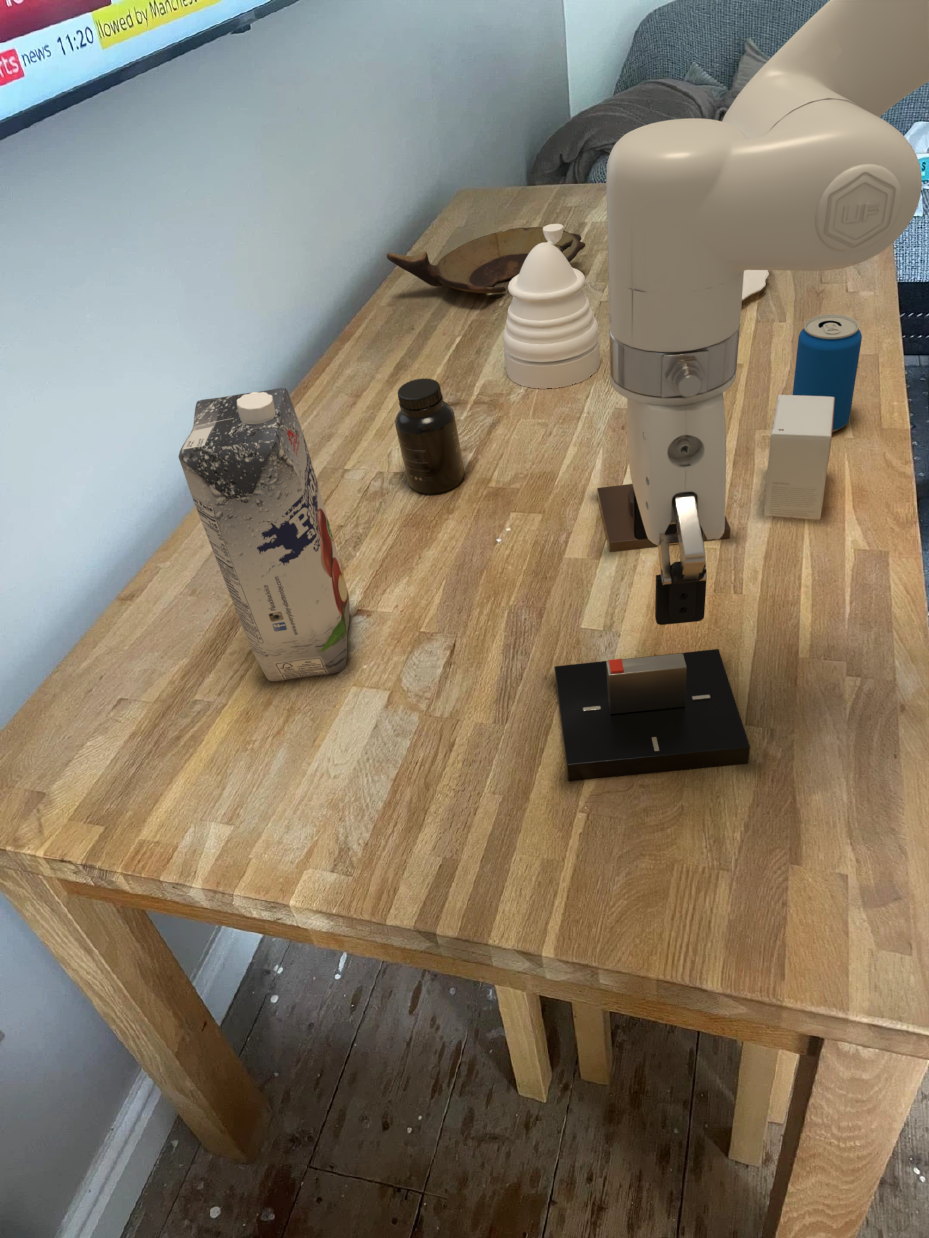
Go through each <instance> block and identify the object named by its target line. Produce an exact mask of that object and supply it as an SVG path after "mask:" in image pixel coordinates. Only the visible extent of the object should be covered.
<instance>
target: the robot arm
mask: <svg viewBox="0 0 929 1238" xmlns="http://www.w3.org/2000/svg"><path fill="white" fill-rule="evenodd" d="M927 83H929V0H829V1H827V2H826V3H824V5H823V6H822V7H820V9H818V11H816V13H814V14H813V15H812V16H811V17H810V18H809V19H808V20H807V21H806V22H805V23H804V24H803V25H802V26H801V27H800V28H799V29H798V30H797V31H796V32H795V33H794V34H793V35H792V36H791V37H790V38H789V39H788V40H787V41H786V42H785V43H784V44H783V45H782V46H781V47H780V48H779V49H778V50H777V52H775V53H774V55H773V56H772V57H770V59H768V61H766V62H765V63H764V65H763V66H762V67H761V68H760V69H758V71H757V72H756V73H755V74H754V75H753V76H752V77H751V79H749V81H748V82H747V83H746V85H745V86H744V87H743V88H742V90H740V92H739V93H738V94H737V96H736V97H735V98H734V100H733V102H732V103H731V105H730V106H729V108H728V109H727V110H726V113H725V114H724V116H723V118H722V121H721V120H717V119H711V118H699V117H697V118H696V117H695V118H694V117H693V118H692V117H691V118H675V119H668V120H661V121H657V122H656V121H655V122H652V123H648V124H645V125H643V126H640V127H637V128H635V129H632V130H630V131H628V132H627V133H625V134H623V136H621V137H620V138H619V139H618V140H617V141H616V143H615V144H614V145H613V147H612V148H611V151H610V153H609V156H608V159H607V163H606V178H605V179H606V180H605V184H606V185H605V186H606V191H605V192H606V231H607V235H606V236H607V239H606V240H607V281H608V283H607V285H608V286H607V287H608V288H607V289H608V348H609V349H608V351H609V353H608V354H609V357H608V358H609V382H610V386H611V387H612V388H613V390H614V391H615V392H617V393H618V394H619V395H620V396H622V397H624V398H625V399H627V401H626V416H627V417H626V431H627V433H626V435H627V436H626V437H627V455H628V466H629V473H630V479H631V484H633V488H634V492H633V533H634V537H635V538H636V539H639V540H642V539H649V540H650V541H651V542H652V543H654V544H655V545H658V547H657V549H658V551H657V552H658V561H659V570H660V574H656V575H655V594H654V595H655V596H654V597H655V599H654V600H655V601H654V606H655V607H654V619H655V622H656V624H657V625H659V626H665V625H676V624H686V623H696V622H701V621H703V620H704V619H705V611H706V610H705V607H706V595H707V579H708V578H707V577H708V573H707V562H706V551H705V541H703V532H704V534H705V536H706V538H707V540H711V539H715V540H714V541H719V540H718V539H720V538H721V536H722V535H723V533H724V529H725V516H726V493H727V491H726V490H727V426H726V425H727V423H726V410H725V398H724V393H725V392H726V391H728V390H729V389H730V388H731V387H732V386H733V385H734V383H735V381H736V377H737V370H738V369H737V367H738V357H739V356H738V355H739V342H740V330H741V329H740V328H741V316H742V305H743V304H742V303H743V300H742V291H743V278H744V271H745V270H768V271H785V272H786V271H789V272H792V271H793V272H823V271H833V270H834V271H835V270H839V269H845V268H849V267H853V266H856V265H859V264H861V263H864V262H866V261H868V260H870V259H872V258H875V257H876V256H877V255H879V254H880V253H883V252H884V251H885V250H886V249H888V248H889V247H890V246H892V245H893V244H894V243H895V242H896V240H898V239H899V238H900V237H901V236H902V235H903V233H904V231H905V230H906V229H907V228H908V227H909V225H910V223H911V221H912V220H913V218H914V216H915V214H916V212H917V209H918V207H919V204H920V199H921V196H922V188H923V176H922V175H923V174H922V168H921V164H920V161H919V159H918V156H917V153H916V151H915V149H914V147H913V146H912V145H911V143H910V142H909V140H908V139H907V138H906V137H905V135H904V134H902V132H901V131H899V130H898V129H897V128H896V127H894V126H893V125H892V124H891V123H889V122H888V121H886V120H885V119H883V118H881V117H882V116H883V115H884V114H886V112H888V111H889V110H890V109H891V108H892V107H894V106H895V105H896V104H898V103H899V102H901V101H902V100H903V99H904V98H906V97H907V96H908V95H910V94H911V93H913V92H914V91H916V90H917V89H919V88H921V87H922V86H924V85H925V84H927ZM702 530H703V531H702ZM676 533H677V534H676ZM678 543H679V544H678ZM669 544H678V546H679V556H678V559H679V560H678V561H674V562H672V563H671V556H670V555H671V554H670V545H669Z"/></svg>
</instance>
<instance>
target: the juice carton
mask: <svg viewBox="0 0 929 1238" xmlns="http://www.w3.org/2000/svg"><path fill="white" fill-rule="evenodd" d="M178 460H179V463H180V466H181V469H182V471H183V475H184V477H185V481H186V484H187V487H188V490H189V493H190V495H191V498H192V501H193V504H194V506H195V508H196V511H197V514H198V516H199V519H200V521H201V525H202V527H203V529H204V532H205V534H206V537H207V539H208V542H209V545H210V547H211V549H212V552H213V555H214V558H215V560H216V562H217V563H216V564H217V565H218V567H219V570H220V572H221V576H222V578H223V580H224V583H225V585H226V588H227V590H228V594H229V596H230V598H231V601H232V604H233V606H234V608H235V612H236V614H237V616H238V619H239V621H240V624H241V627H242V629H243V632H244V635H245V636H246V639H247V641H248V644H249V646H250V649H251V651H252V654H253V655H254V658H255V659H256V662H257V664H258V665H259V667H260V669H261V670H262V672H263V674H264V676H265V678H266V679H267V680H268V681H270V682H281V681H286V680H293V679H299V678H306V677H314V676H315V677H316V676H325V675H334V674H339V673H342V672H343V671H345V669H346V667H347V661H348V660H347V659H348V633H349V626H350V594H349V591H348V587H347V586H348V585H347V583H346V579H345V575H344V572H343V569H342V568H343V567H342V565H341V561H340V557H339V553H338V551H337V550H338V549H337V547H336V543H335V540H334V536H333V532H332V529H331V525H330V522H329V519H328V514H327V511H326V507H325V505H324V501H323V498H322V494H321V490H320V487H319V483H318V480H317V475H316V472H315V469H314V465H313V462H312V459H311V455H310V452H309V448H308V444H307V441H306V438H305V435H304V432H303V429H302V426H301V423H300V420H299V418H298V416H297V414H296V410H295V407H294V404H293V402H292V399H291V396H290V394H289V391H288V389H287V388H286V387H278V388H273V389H272V388H271V389H267V390H262V391H252V392H247V393H246V392H245V393H239V394H233V395H227V396H221V397H214V398H213V397H211V398H204V399H200V400H196V403H195V408H194V415H193V425H192V429H191V430H190V433H189V434H188V436H187V438H186V439H185V441H184V443H183V444H182V446H181V447H180V450H179V452H178Z"/></svg>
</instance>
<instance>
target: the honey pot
mask: <svg viewBox="0 0 929 1238" xmlns="http://www.w3.org/2000/svg"><path fill="white" fill-rule="evenodd" d="M542 228H543V233H544V236H545V238H546V240H547V241H548V242H547V243H545V242H544V243H540V244H538V245H536V246H535V247H534V248H533V249H532V250H531V251H530V253H529V254H528V256H527V258H526V259H525V261H524V263H523V266H522V268H521V271H520V273H519V274H518V275H517V276H515V277H514V278H511V279H510V280H509V283H508V285H507V290H508V292H509V294H510V295H511V296H512V298H511V301H510V304H509V306H508V309H507V316H506V321H505V327H504V328H503V331H502V341H503V356H504V363H505V372H506V375H507V377H508V378H509V379H510V380H511V381H512V383H515V384H517V385H519V386H521V387H525V388H529V387H530V389H538V388H539V390H548V389H547V388H552V389H559V387H560V388H565V387H570V386H573V385H576V384H579V383H581V382H583V381H585V380H587V379H590V378H591V377H592V376H593V375H594V374H596V373H597V372H598V370H599V368H600V366H601V350H600V349H601V347H600V336H599V335H600V333H599V330H600V329H599V322H598V320H597V319H596V317H595V316H594V311H593V309H592V308H591V306H590V302H591V301H590V300H589V298H588V296H587V295H586V294H585V291H584V289H583V288H584V286H585V284H586V276H585V275H584V273H583V272H582V271H580V270H579V269H578V268H574V267H572V265H571V264H570V262H568V260H567V259H566V257H565V256H564V255H563V253H564V252H563V253H562V252H561V251H560V250H559V249H558V248H557V247H555V246H554V245H555V244H556V243H557V242H558V241H559V240H560V239H561V237H562V234H563V231H564V225H563V224H562V223H551V224H547V225H545V226H543V227H542ZM597 369H598V370H597ZM591 375H592V376H591ZM590 376H591V377H590ZM575 383H576V384H575ZM572 384H573V385H572Z"/></svg>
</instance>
